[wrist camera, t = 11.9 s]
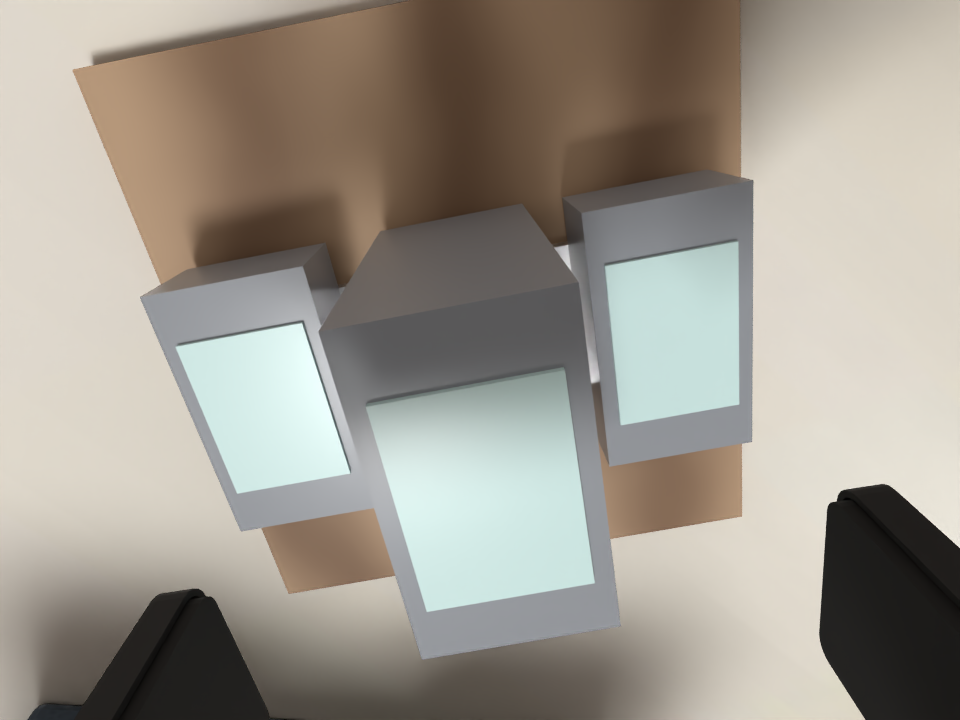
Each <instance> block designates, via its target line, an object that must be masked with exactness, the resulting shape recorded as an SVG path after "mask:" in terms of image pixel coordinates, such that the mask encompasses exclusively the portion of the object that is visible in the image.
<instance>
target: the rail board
mask: <svg viewBox="0 0 960 720" xmlns="http://www.w3.org/2000/svg"><path fill="white" fill-rule="evenodd" d="M73 73H74V75H75V77H76V80H77V82H78V85H79V87H80V89H81V92H82V94H83V97H84V99H85V102H86V104H87V106H88V109H89V111H90V114H91V116H92V119H93V121H94V123H95V126H96V128H97V131H98V133H99V135H100V138H101V140H102V143H103V145H104V148H105V150H106V152H107V155H108V157H109V160H110V162H111V165H112V167H113V169H114V172H115V174H116V177H117V179H118V182H119V184H120V186H121V189H122V191H123V194H124V196H125V198H126V201H127V203H128V206H129V208H130V211H131V213H132V215H133V218H134V220H135V223H136V225H137V228H138V230H139V232H140V235H141V237H142V240H143V242H144V244H145V247H146V249H147V252H148V254H149V257H150V259H151V261H152V264H153V266H154V269H155V271H156V274H157V276H158V278H159V281H160V283H161V285H160V286H158V287H156V288H155V289H153V290H151V291H150V292H148V293H146V294H144V295H143V296H141V297H140V299H141V301H142V303H143V306H144V308H145V310H146V313H147V315H148V317H149V320H150V322H151V324H152V327H153V329H154V331H155V333H156V336H157V338H158V340H159V343H160V345H161V347H162V350H163V352H164V354H165V357H166V359H167V361H168V364H169V366H170V368H171V371H172V373H173V375H174V377H175V380H176V382H177V384H178V387H179V389H180V391H181V394H182V396H183V398H184V401H185V403H186V405H187V408H188V410H189V412H190V415H191V417H192V419H193V422H194V424H195V426H196V428H197V431H198V433H199V435H200V438H201V440H202V442H203V445H204V447H205V449H206V452H207V454H208V456H209V459H210V461H211V463H212V466H213V468H214V470H215V472H216V475H217V477H218V479H219V482H220V484H221V486H222V489H223V491H224V493H225V496H226V498H227V500H228V503H229V505H230V507H231V510H232V512H233V514H234V516H235V519H236V521H237V523H238V526H239V528H240V530H241V531H246V530H252V529H258V528H262V530H263V533H264V535H265V538H266V540H267V542H268V545H269V547H270V550H271V552H272V555H273V557H274V559H275V562H276V564H277V567H278V569H279V572H280V574H281V576H282V579H283V581H284V584H285V586H286V588H287V591H288V593H289V594H291V593H297V592H303V591H309V590H314V589H320V588H326V587H332V586H338V585H344V584H350V583H355V582H361V581H367V580H373V579H379V578H385V577H390V576H395V573H394V570H393V566H392V563H391V560H390V557H389V554H388V551H387V548H386V544H385V541H384V538H383V535H382V532H381V529H380V525H379V522H378V519H377V516H376V513H375V510H374V506H373V503H372V500H371V497H370V494H369V491H368V488H367V484H366V481H365V478H364V475H363V472H362V469H361V465H360V462H359V459H358V456H357V453H356V450H355V446H354V443H353V440H352V437H351V434H350V431H349V427H348V424H347V421H346V418H345V415H344V412H343V409H342V405H341V402H340V399H339V396H338V393H337V390H336V386H335V383H334V380H333V377H332V374H331V371H330V367H329V364H328V361H327V358H326V355H325V352H324V349H323V345H322V342H321V339H320V336H319V333H318V331H319V330H320V328H321V326H322V325H323V323H324V321H325V320H326V318H327V317H328V315H329V313H330V312H331V310H332V308H333V307H334V305H335V304H336V302H337V300H338V299H339V297H340V295H341V294H342V292H343V291H344V289H345V287H346V286H347V284H348V282H349V281H350V279H351V278H352V276H353V274H354V273H355V271H356V269H357V268H358V266H359V265H360V263H361V261H362V260H363V258H364V256H365V255H366V253H367V252H368V250H369V248H370V247H371V245H372V243H373V242H374V240H375V239H376V237H377V235H378V234H379V232H380V231H384V230H389V229H394V228H399V227H404V226H409V225H415V224H420V223H425V222H430V221H435V220H440V219H445V218H450V217H455V216H461V215H466V214H471V213H476V212H481V211H486V210H491V209H496V208H501V207H506V206H512V205H517V204H523V205H524V207H525V208H526V210H527V211H528V212H529V214H530V215H531V216H532V218H533V219H534V221H535V222H536V223H537V225H538V226H539V228H540V229H541V230H542V232H543V233H544V235H545V236H546V237H547V239H548V240H549V241H550V243H551V244H552V246H553V247H554V248H555V250H556V251H557V253H558V254H559V255H560V257H561V258H562V259H563V261H564V262H565V264H566V265H567V266H568V268H569V269H570V271H571V272H572V273H573V275H574V276H575V277H576V279H577V280H578V282H579V287H580V296H581V304H582V312H583V320H584V328H585V337H586V345H587V353H588V361H589V369H590V378H591V386H592V394H593V402H594V411H595V419H596V427H597V435H598V443H599V452H600V460H601V468H602V476H603V484H604V493H605V501H606V509H607V517H608V526H609V534H610V539H613V538H618V537H624V536H630V535H636V534H642V533H648V532H653V531H659V530H665V529H671V528H677V527H683V526H689V525H694V524H700V523H706V522H712V521H718V520H724V519H729V518H735V517H741V516H742V443H748V442H752V341H753V180H750V179H746V178H741V96H740V0H409V1H405V2H400V3H395V4H390V5H385V6H380V7H375V8H370V9H366V10H361V11H356V12H351V13H346V14H341V15H336V16H332V17H327V18H322V19H317V20H312V21H307V22H302V23H297V24H293V25H288V26H283V27H278V28H273V29H268V30H263V31H259V32H254V33H249V34H244V35H239V36H234V37H229V38H224V39H220V40H215V41H210V42H205V43H200V44H195V45H190V46H185V47H181V48H176V49H171V50H166V51H161V52H156V53H151V54H147V55H142V56H137V57H132V58H127V59H122V60H117V61H112V62H108V63H103V64H98V65H93V66H88V67H83V68H78V69H74V70H73Z"/></svg>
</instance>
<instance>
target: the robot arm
mask: <svg viewBox="0 0 960 720" xmlns="http://www.w3.org/2000/svg"><path fill="white" fill-rule="evenodd" d="M819 636H820V642H821V646H822V649H823V652H824V654H825V657H826V658H827V660H828V662H829V664H830V665H831V667H832V668H833V670H834V672H835V673H836V675H837V676H838V678H839V679H840V681H841V682H842V684H843V685H844V687H845V689H846V690H847V692H848V693H849V695H850V696H851V698H852V699H853V701H854V703H855V704H856V706H857V707H858V709H859V710H860V712H861V713H862V715H863V717H864V718H865V720H960V548H959V547H958V546H957V545H956V544H955V543H953V542H952V541H951V540H950V539H949V538H948V537H947V536H946V535H945V534H943V533H942V532H941V531H940V530H939V529H938V528H937V527H936V526H935V525H933V524H932V523H931V522H930V521H929V520H928V519H927V518H926V517H925V516H923V515H922V514H921V513H920V512H919V511H918V510H917V509H916V508H915V507H913V506H912V505H911V504H910V503H909V502H908V501H907V500H906V499H905V498H903V497H902V496H901V495H900V494H899V493H898V492H897V491H896V490H894V489H893V488H892V487H890V486H889V485H885V484H880V485H873V486H866V487H860V488H853V489H847V490H843V491H841V492H840V493H839V495H838V498H837V502H832V503H830V504H829V505H828V509H827V522H826V537H825V553H824V568H823V584H822V599H821V615H820V630H819ZM74 720H269V714H268V710H267V708H266V706H265V704H264V702H263V699H262V697H261V695H260V693H259V691H258V689H257V687H256V685H255V683H254V681H253V678H252V676H251V674H250V672H249V670H248V668H247V666H246V664H245V662H244V660H243V658H242V655H241V653H240V651H239V649H238V647H237V645H236V643H235V641H234V639H233V637H232V634H231V632H230V630H229V628H228V626H227V624H226V622H225V620H224V618H223V616H222V613H221V611H220V609H219V607H218V605H217V603H216V601H215V600H214V598H212V597H206V596H205V594H204V593H203V591H201V590H200V589H188V590H182V591H175V592H169V593H162V594H159V595H158V596H156V597H155V598H154V599H153V600H152V601H151V603H150V604H149V606H148V607H147V609H146V610H145V612H144V613H143V615H142V616H141V618H140V619H139V621H138V622H137V624H136V625H135V627H134V628H133V630H132V632H131V633H130V635H129V636H128V638H127V639H126V641H125V642H124V644H123V645H122V647H121V648H120V650H119V651H118V653H117V654H116V656H115V657H114V659H113V661H112V662H111V664H110V665H109V667H108V668H107V670H106V671H105V673H104V674H103V676H102V677H101V679H100V680H99V682H98V683H97V685H96V686H95V688H94V690H93V691H92V693H91V694H90V696H89V697H88V699H87V700H86V702H85V703H84V705H83V706H82V708H81V709H80V711H79V712H78V714H77V715H76V717H75V719H74Z"/></svg>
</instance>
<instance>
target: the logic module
mask: <svg viewBox="0 0 960 720" xmlns="http://www.w3.org/2000/svg"><path fill="white" fill-rule="evenodd" d="M318 333H319V336H320V339H321V342H322V345H323V349H324V352H325V355H326V358H327V361H328V364H329V367H330V371H331V374H332V377H333V380H334V383H335V386H336V390H337V393H338V396H339V399H340V402H341V405H342V409H343V412H344V415H345V418H346V421H347V424H348V427H349V431H350V434H351V437H352V440H353V443H354V446H355V450H356V453H357V456H358V459H359V462H360V465H361V469H362V472H363V475H364V478H365V481H366V484H367V488H368V491H369V494H370V497H371V500H372V503H373V506H374V510H375V513H376V516H377V519H378V522H379V525H380V529H381V532H382V535H383V538H384V541H385V544H386V548H387V551H388V554H389V557H390V560H391V563H392V566H393V570H394V573H395V576H396V579H397V582H398V585H399V589H400V592H401V595H402V598H403V601H404V604H405V608H406V611H407V614H408V617H409V620H410V623H411V627H412V630H413V633H414V636H415V639H416V642H417V645H418V649H419V652H420V655H421V658H422V660H424V659H430V658H436V657H442V656H447V655H453V654H459V653H465V652H471V651H477V650H483V649H489V648H495V647H501V646H507V645H513V644H519V643H525V642H531V641H536V640H542V639H548V638H554V637H560V636H566V635H572V634H578V633H584V632H590V631H596V630H602V629H608V628H614V627H619V626H621V624H620V616H619V608H618V599H617V591H616V583H615V575H614V567H613V558H612V550H611V542H610V534H609V526H608V517H607V509H606V501H605V493H604V484H603V476H602V468H601V460H600V452H599V443H598V435H597V427H596V419H595V411H594V402H593V394H592V386H591V378H590V369H589V361H588V353H587V345H586V337H585V328H584V320H583V312H582V304H581V296H580V287H579V282H578V280H577V279H576V277H575V276H574V275H573V273H572V272H571V271H570V269H569V268H568V266H567V265H566V264H565V262H564V261H563V259H562V258H561V257H560V255H559V254H558V253H557V251H556V250H555V248H554V247H553V246H552V244H551V243H550V241H549V240H548V239H547V237H546V236H545V235H544V233H543V232H542V230H541V229H540V228H539V226H538V225H537V223H536V222H535V221H534V219H533V218H532V216H531V215H530V214H529V212H528V211H527V210H526V208H525V207H524V205H523V204H517V205H512V206H506V207H501V208H496V209H491V210H486V211H481V212H476V213H471V214H466V215H461V216H455V217H450V218H445V219H440V220H435V221H430V222H425V223H420V224H415V225H409V226H404V227H399V228H394V229H389V230H384V231H380V232H379V234H378V235H377V237H376V239H375V240H374V242H373V243H372V245H371V247H370V248H369V250H368V252H367V253H366V255H365V256H364V258H363V260H362V261H361V263H360V265H359V266H358V268H357V269H356V271H355V273H354V274H353V276H352V278H351V279H350V281H349V282H348V284H347V286H346V287H345V289H344V291H343V292H342V294H341V295H340V297H339V299H338V300H337V302H336V304H335V305H334V307H333V308H332V310H331V312H330V313H329V315H328V317H327V318H326V320H325V321H324V323H323V325H322V326H321V328H320V330H319V331H318Z"/></svg>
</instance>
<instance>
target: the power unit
mask: <svg viewBox="0 0 960 720" xmlns="http://www.w3.org/2000/svg"><path fill="white" fill-rule="evenodd" d="M81 708H82V706H71V705H56V704H44V705H40V706H39V707H37V708H36V709H35V710H34V711H33V713H32V714H31V715H30V717H29V718H28V720H74V719H75V717H76V715H77V714H78V712H79V711H80V709H81ZM269 720H282V719H269Z"/></svg>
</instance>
